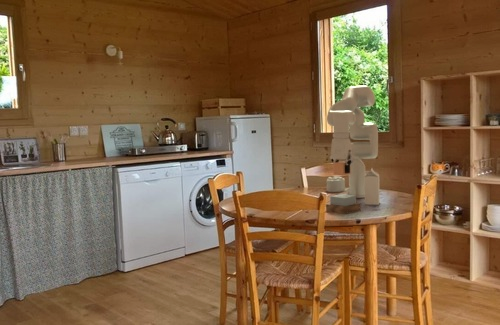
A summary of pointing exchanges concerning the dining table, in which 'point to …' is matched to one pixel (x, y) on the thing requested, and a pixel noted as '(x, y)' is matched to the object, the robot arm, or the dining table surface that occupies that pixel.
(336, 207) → the base block
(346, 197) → the grey square block
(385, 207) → the dining table surface
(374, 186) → the milk carton
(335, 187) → the lumpy-topped squat cylinder
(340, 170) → the orange cube
